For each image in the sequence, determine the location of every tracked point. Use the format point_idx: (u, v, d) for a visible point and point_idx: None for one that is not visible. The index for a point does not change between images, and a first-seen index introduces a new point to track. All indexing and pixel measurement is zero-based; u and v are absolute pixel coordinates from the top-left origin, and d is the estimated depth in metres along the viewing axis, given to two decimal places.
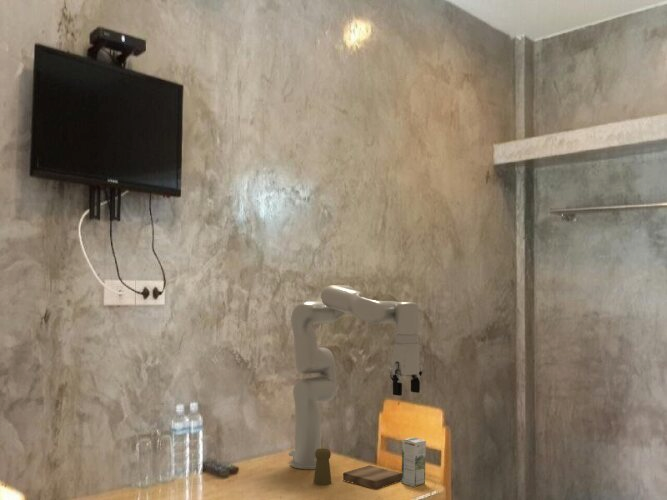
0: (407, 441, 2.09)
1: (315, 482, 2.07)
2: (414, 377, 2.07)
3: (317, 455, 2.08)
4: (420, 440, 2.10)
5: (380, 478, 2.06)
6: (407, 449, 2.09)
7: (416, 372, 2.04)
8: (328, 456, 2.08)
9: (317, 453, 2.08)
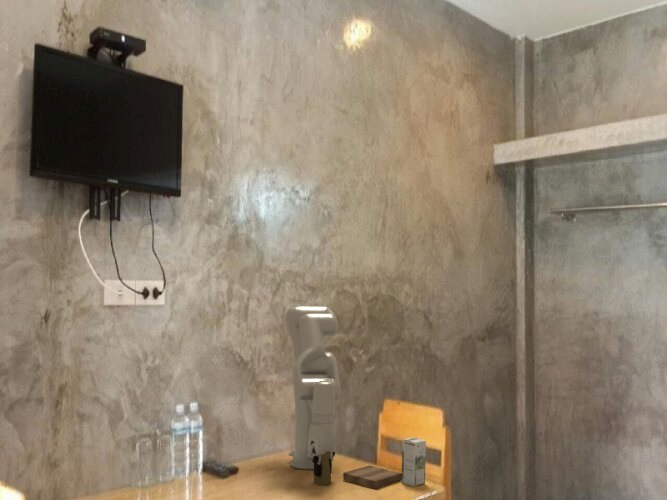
0: (407, 441, 2.09)
1: (315, 482, 2.07)
2: None
3: None
4: (420, 440, 2.10)
5: (380, 478, 2.06)
6: (407, 449, 2.09)
7: (332, 450, 2.10)
8: (328, 456, 2.08)
9: None
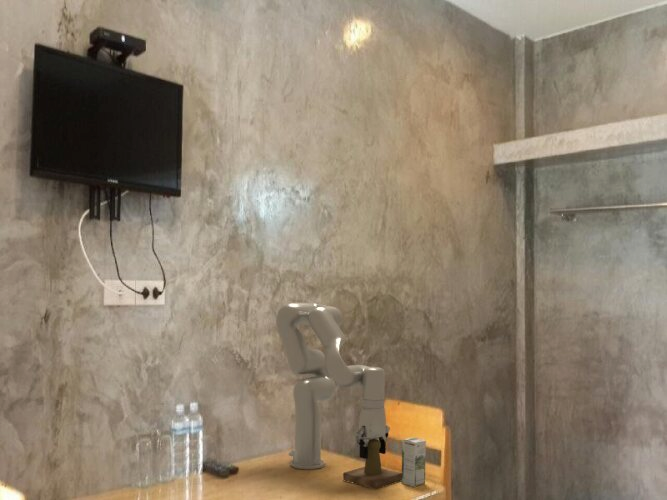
0: (407, 441, 2.09)
1: (366, 472, 2.11)
2: (380, 439, 2.17)
3: (368, 445, 2.12)
4: (420, 440, 2.10)
5: (380, 478, 2.06)
6: (407, 449, 2.09)
7: (382, 434, 2.14)
8: (378, 446, 2.12)
9: None
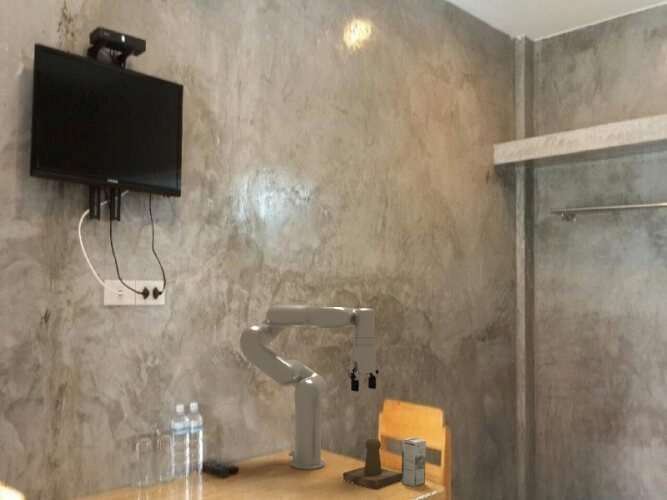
0: (407, 441, 2.09)
1: (366, 472, 2.11)
2: (371, 375, 2.32)
3: (368, 445, 2.12)
4: (420, 440, 2.10)
5: (380, 478, 2.06)
6: (406, 449, 2.09)
7: (372, 371, 2.29)
8: (378, 446, 2.12)
9: (367, 443, 2.12)
